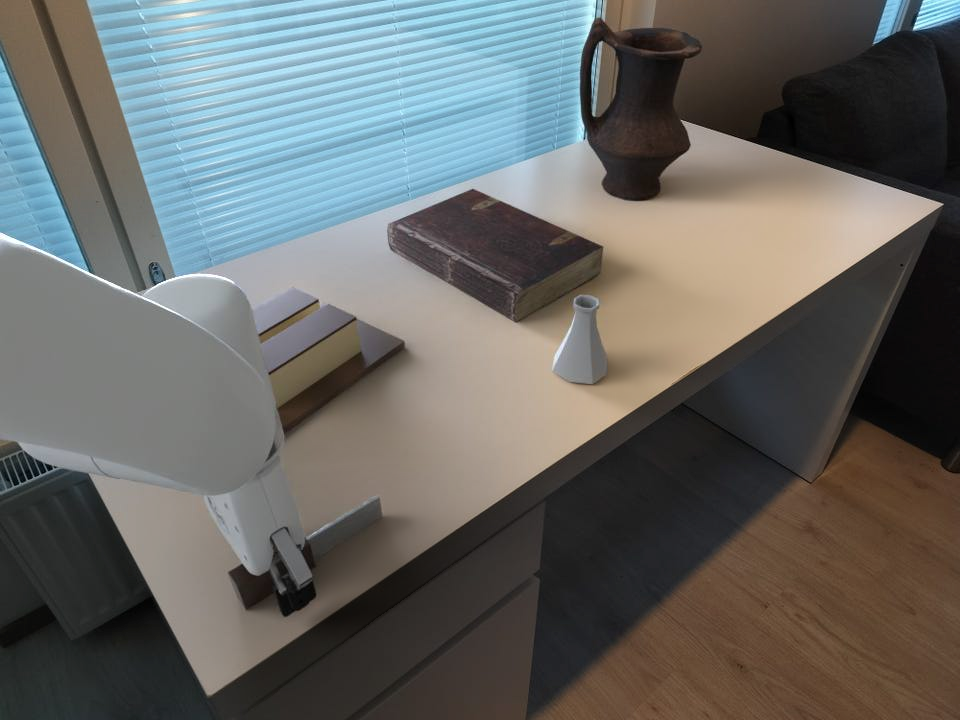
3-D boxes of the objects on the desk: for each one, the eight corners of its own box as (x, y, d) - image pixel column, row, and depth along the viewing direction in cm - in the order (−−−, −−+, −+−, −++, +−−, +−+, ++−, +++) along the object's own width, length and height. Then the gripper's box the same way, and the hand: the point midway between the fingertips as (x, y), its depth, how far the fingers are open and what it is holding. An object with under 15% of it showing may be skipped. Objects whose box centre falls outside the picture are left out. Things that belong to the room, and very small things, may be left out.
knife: (246, 610, 60) (237, 587, 58) (236, 595, 62) (227, 572, 60) (387, 522, 68) (384, 499, 66) (376, 510, 69) (372, 487, 67)
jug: (665, 167, 139) (692, 3, 120) (694, 207, 124) (730, 27, 106) (562, 171, 137) (573, 6, 119) (579, 211, 123) (595, 31, 104)
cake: (276, 409, 80) (267, 373, 77) (213, 371, 86) (202, 336, 82) (361, 351, 89) (356, 316, 85) (299, 320, 94) (292, 286, 91)
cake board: (260, 450, 76) (258, 444, 75) (166, 388, 85) (164, 382, 84) (405, 346, 91) (404, 340, 90) (312, 303, 100) (311, 297, 99)
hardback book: (389, 250, 112) (386, 222, 109) (473, 214, 122) (472, 188, 119) (514, 323, 95) (515, 292, 92) (600, 275, 105) (603, 246, 102)
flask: (542, 375, 86) (546, 309, 80) (564, 344, 91) (569, 280, 85) (596, 392, 83) (605, 325, 77) (616, 360, 89) (625, 294, 82)
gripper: (139, 396, 55) (196, 532, 65) (231, 531, 44) (281, 666, 55) (228, 359, 58) (268, 493, 69) (332, 474, 48) (361, 612, 59)
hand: (274, 569), depth 62 cm, fingers open, 8 cm apart
